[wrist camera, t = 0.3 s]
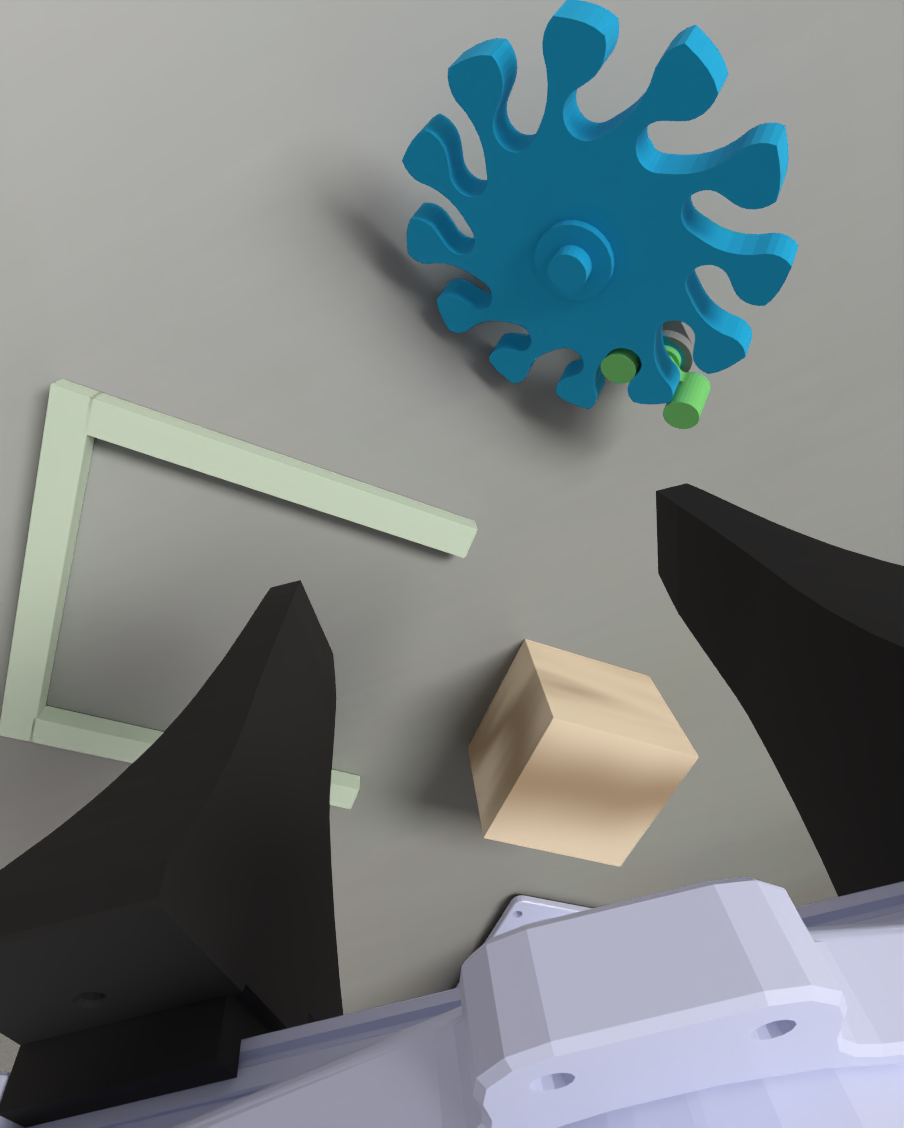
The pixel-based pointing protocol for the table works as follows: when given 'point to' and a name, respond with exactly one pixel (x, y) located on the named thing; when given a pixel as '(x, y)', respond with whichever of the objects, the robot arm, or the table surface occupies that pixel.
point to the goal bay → (108, 418)
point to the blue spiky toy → (599, 220)
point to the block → (575, 756)
